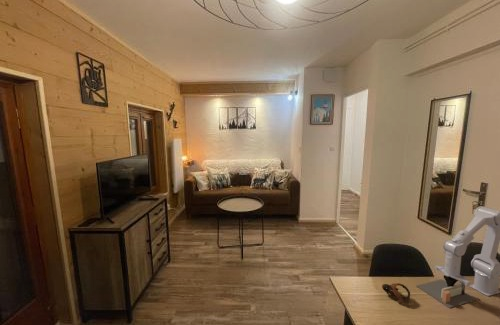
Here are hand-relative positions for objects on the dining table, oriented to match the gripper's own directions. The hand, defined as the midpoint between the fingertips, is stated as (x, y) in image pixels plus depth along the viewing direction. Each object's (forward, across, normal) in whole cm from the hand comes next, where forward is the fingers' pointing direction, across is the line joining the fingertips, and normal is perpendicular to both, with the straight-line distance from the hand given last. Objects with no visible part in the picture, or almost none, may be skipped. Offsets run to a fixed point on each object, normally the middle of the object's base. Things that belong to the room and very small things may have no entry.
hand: (450, 289), depth 113 cm
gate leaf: (+2, +1, -1) cm, 3 cm away
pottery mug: (+3, -7, -27) cm, 28 cm away
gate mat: (+3, -2, -1) cm, 3 cm away
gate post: (+3, +1, +6) cm, 7 cm away
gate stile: (+3, +3, -7) cm, 8 cm away
